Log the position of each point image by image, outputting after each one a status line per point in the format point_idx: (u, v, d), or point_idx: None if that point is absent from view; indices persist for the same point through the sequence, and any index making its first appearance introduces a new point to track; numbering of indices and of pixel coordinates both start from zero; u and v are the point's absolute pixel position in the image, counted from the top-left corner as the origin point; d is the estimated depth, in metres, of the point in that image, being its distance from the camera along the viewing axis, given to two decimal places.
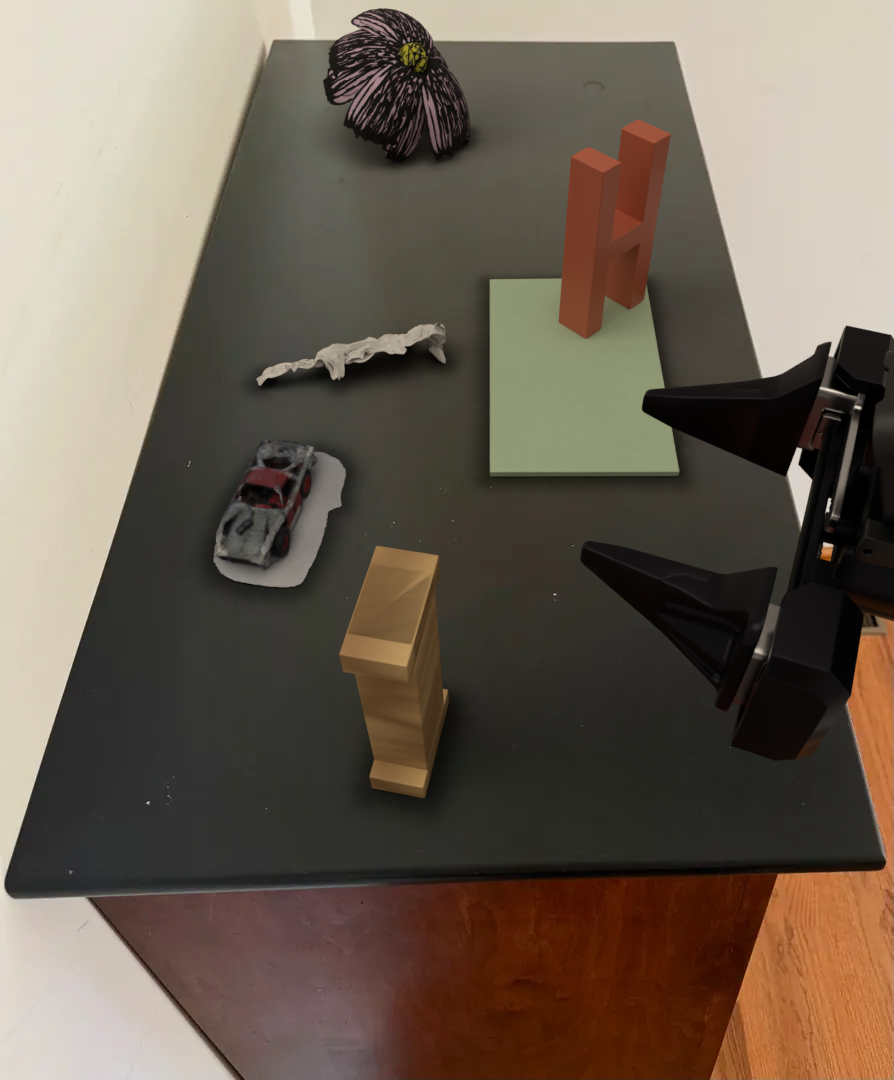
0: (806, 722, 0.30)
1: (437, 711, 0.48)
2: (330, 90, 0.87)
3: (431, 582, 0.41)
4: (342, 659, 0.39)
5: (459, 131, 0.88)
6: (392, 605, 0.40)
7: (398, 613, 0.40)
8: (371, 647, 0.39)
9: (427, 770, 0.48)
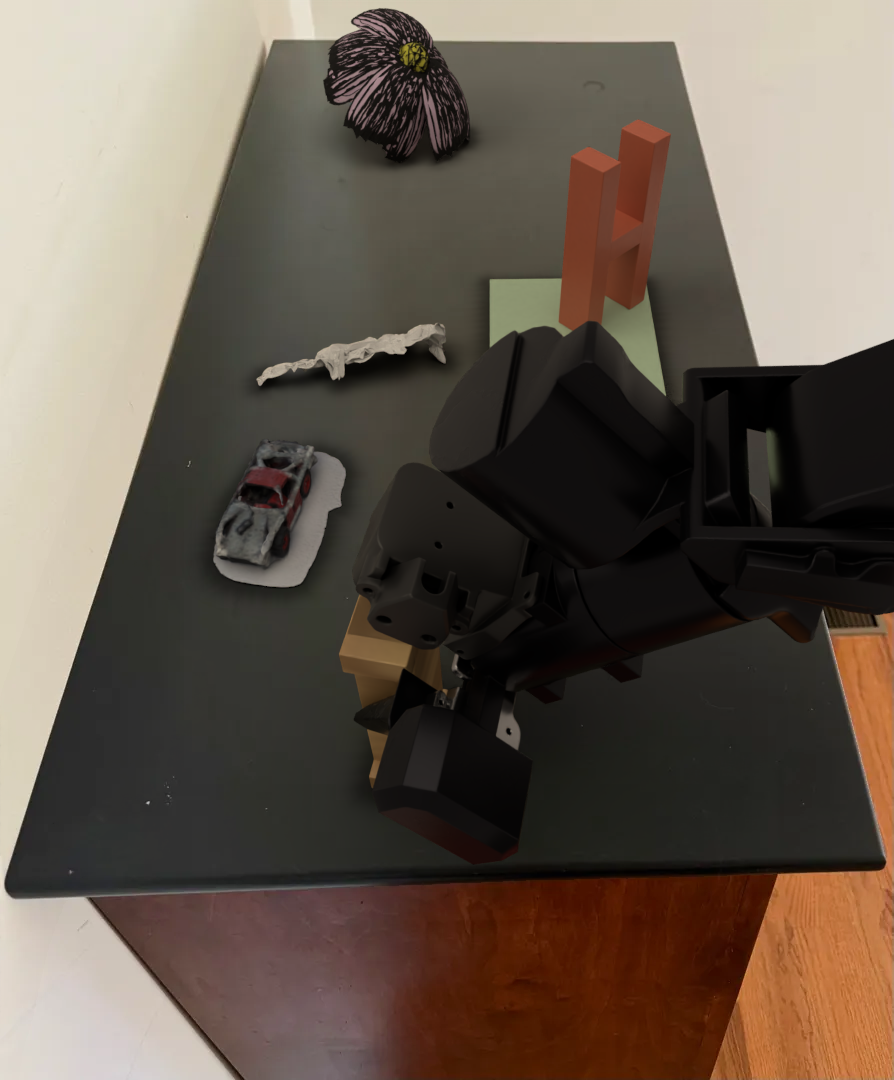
0: (447, 826, 0.34)
1: None
2: (330, 90, 0.87)
3: None
4: (342, 659, 0.39)
5: (459, 131, 0.88)
6: None
7: None
8: (371, 647, 0.39)
9: None
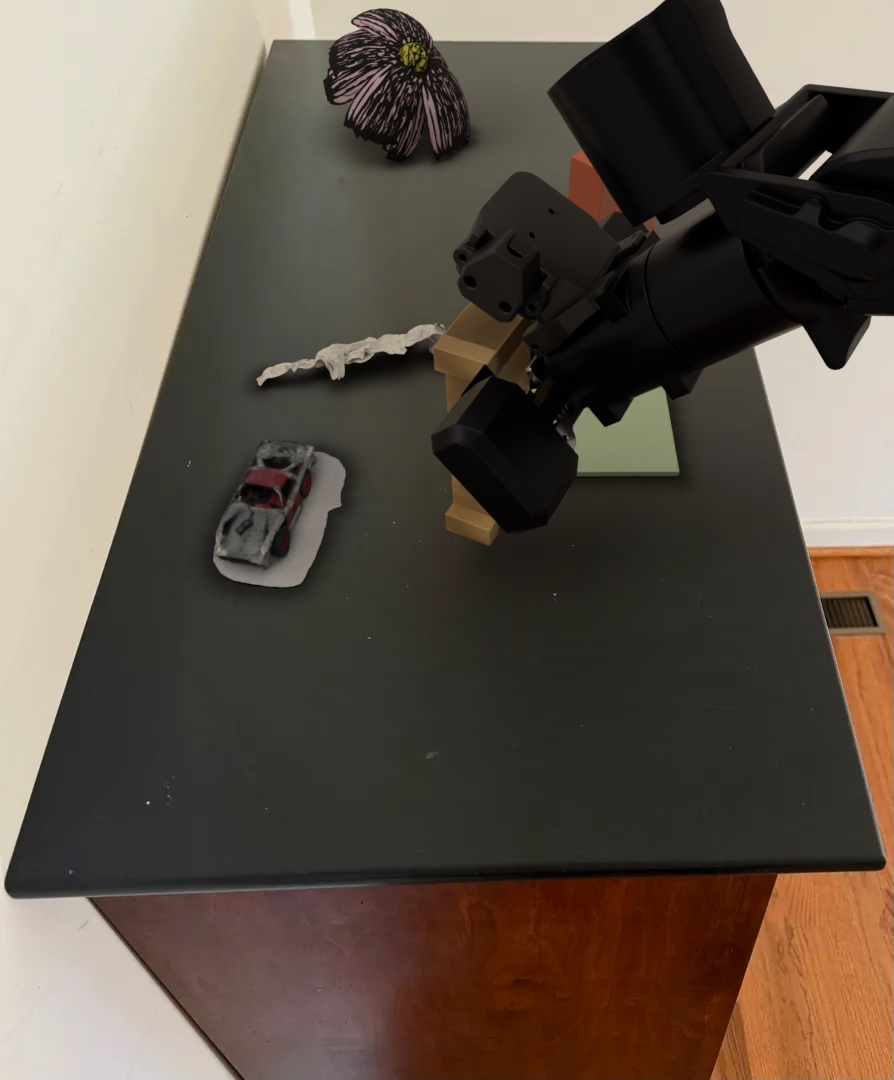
0: (487, 473, 0.38)
1: None
2: (330, 90, 0.87)
3: None
4: (435, 353, 0.44)
5: (459, 131, 0.88)
6: (488, 321, 0.45)
7: (492, 327, 0.45)
8: (461, 346, 0.44)
9: None
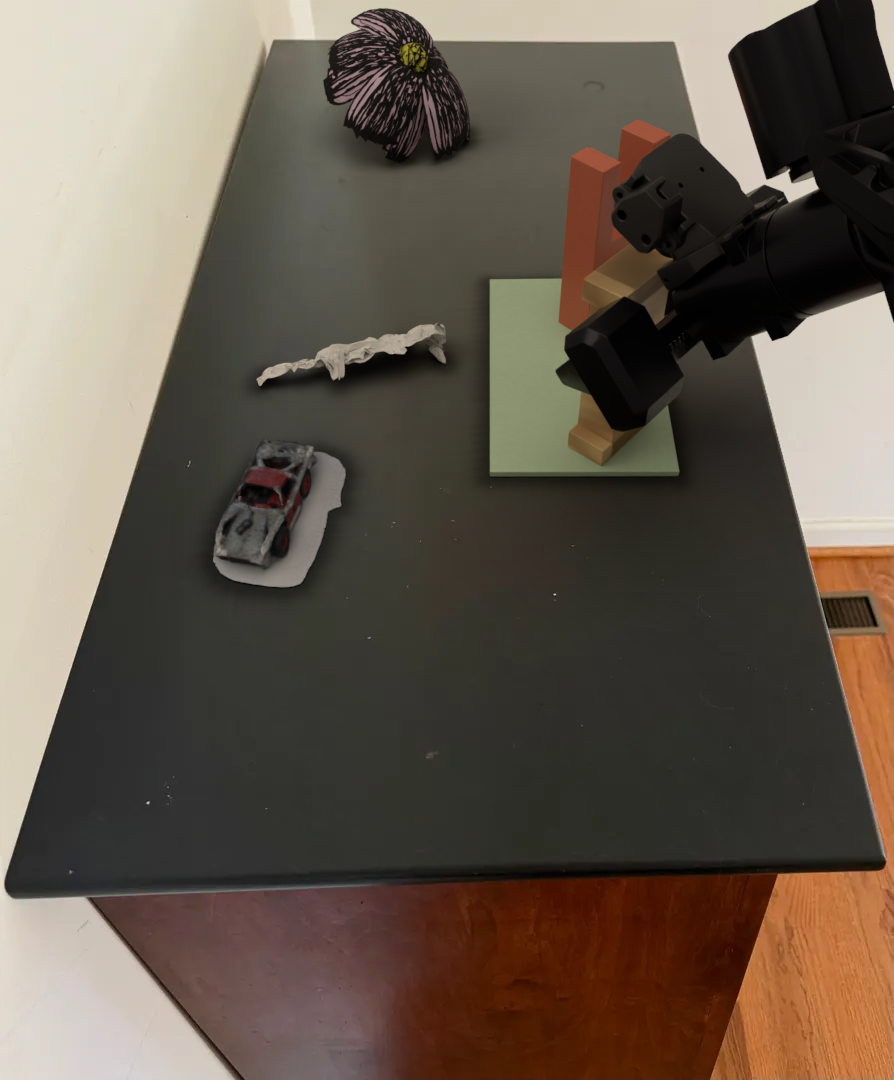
0: (604, 372, 0.47)
1: None
2: (330, 90, 0.87)
3: None
4: (584, 284, 0.53)
5: (459, 131, 0.88)
6: (634, 266, 0.54)
7: (636, 271, 0.53)
8: (607, 282, 0.53)
9: (612, 443, 0.62)
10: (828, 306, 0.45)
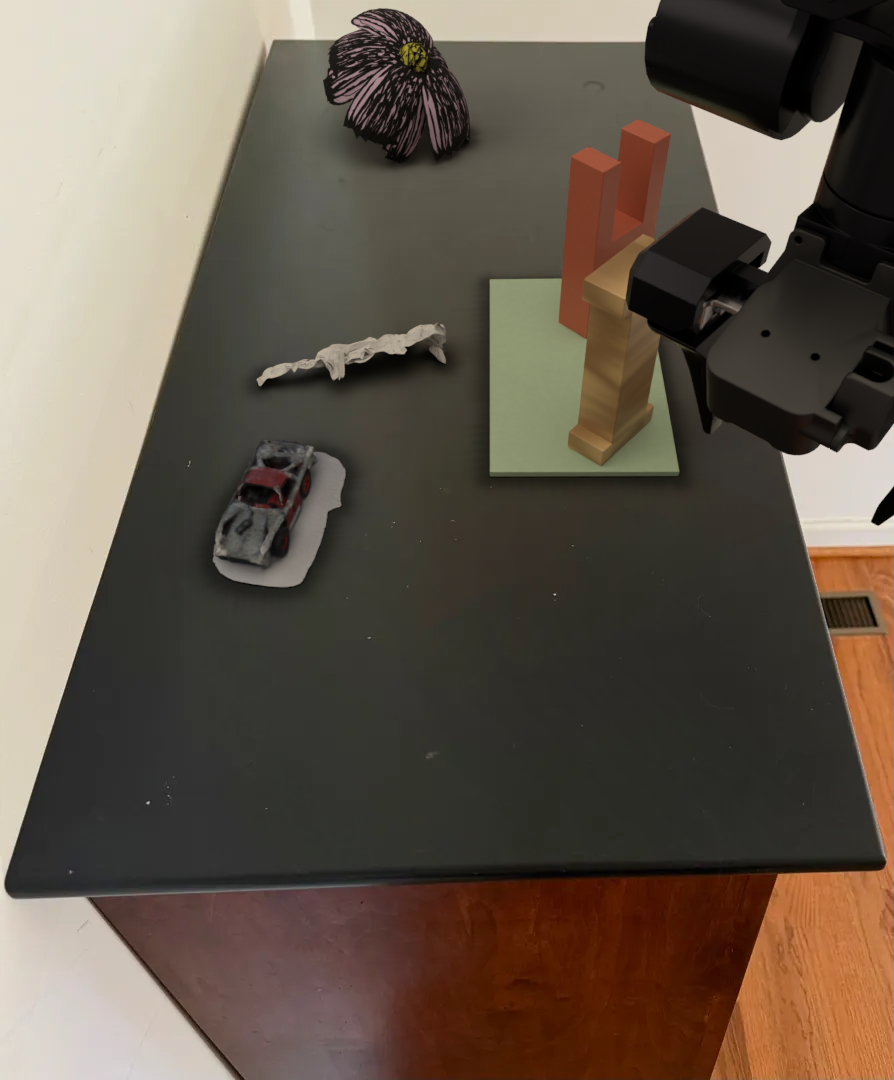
0: None
1: (638, 404, 0.62)
2: (330, 90, 0.87)
3: None
4: (584, 284, 0.53)
5: (459, 131, 0.88)
6: None
7: None
8: (607, 282, 0.53)
9: (612, 443, 0.62)
10: None
